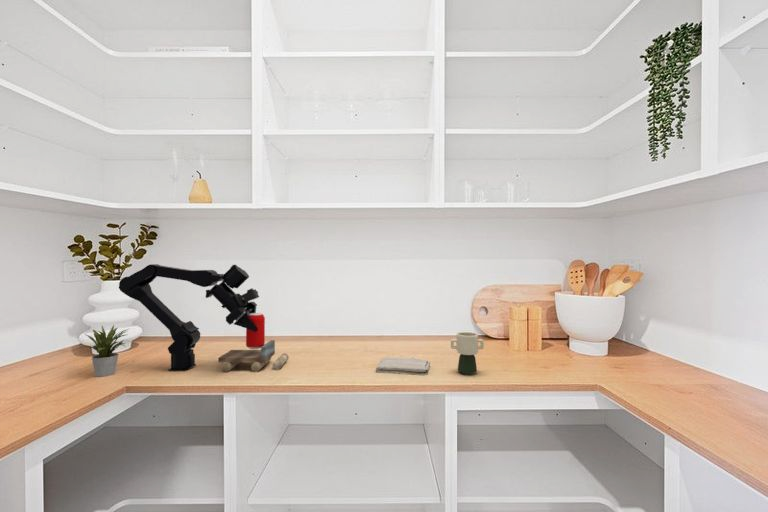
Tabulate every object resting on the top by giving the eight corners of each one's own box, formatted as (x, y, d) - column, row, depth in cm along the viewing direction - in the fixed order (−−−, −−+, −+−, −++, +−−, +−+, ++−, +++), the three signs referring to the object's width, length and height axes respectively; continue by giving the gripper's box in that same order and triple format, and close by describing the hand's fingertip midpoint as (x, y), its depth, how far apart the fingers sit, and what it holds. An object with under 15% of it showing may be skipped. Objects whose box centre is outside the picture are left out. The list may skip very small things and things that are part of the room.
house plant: (129, 377, 119) (130, 326, 119) (74, 384, 112) (74, 331, 112) (134, 366, 131) (134, 320, 131) (84, 372, 124) (85, 323, 125)
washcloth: (428, 377, 120) (428, 367, 120) (374, 374, 124) (374, 364, 124) (430, 366, 132) (430, 357, 132) (381, 364, 135) (381, 355, 135)
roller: (272, 369, 127) (272, 360, 127) (280, 361, 137) (280, 353, 137) (281, 369, 127) (281, 360, 127) (288, 361, 137) (288, 353, 137)
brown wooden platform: (216, 372, 124) (217, 348, 125) (232, 361, 137) (232, 339, 138) (264, 371, 125) (264, 348, 125) (275, 361, 138) (275, 339, 138)
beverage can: (256, 344, 135) (257, 311, 135) (268, 347, 132) (268, 313, 132) (242, 348, 130) (242, 314, 130) (253, 350, 127) (254, 315, 127)
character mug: (481, 369, 126) (481, 331, 126) (486, 376, 119) (486, 336, 119) (449, 369, 127) (449, 331, 127) (452, 376, 120) (452, 335, 120)
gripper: (236, 283, 121) (270, 316, 122) (251, 280, 140) (281, 309, 141) (211, 307, 121) (245, 340, 121) (230, 300, 139) (259, 330, 140)
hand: (259, 328), depth 131 cm, fingers closed on beverage can, 6 cm apart
